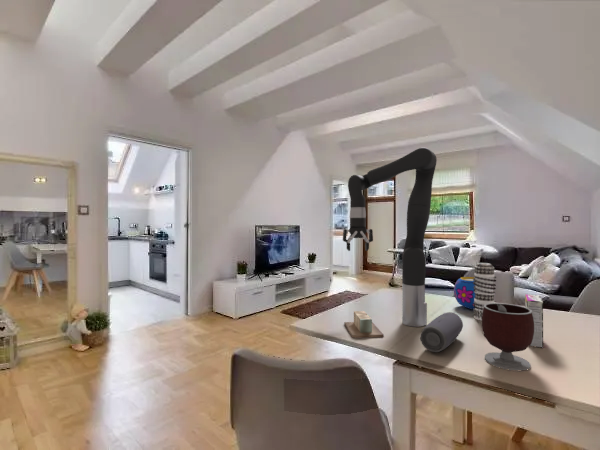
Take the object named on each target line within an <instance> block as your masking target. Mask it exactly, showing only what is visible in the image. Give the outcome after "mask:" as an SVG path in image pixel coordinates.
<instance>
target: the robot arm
mask: <svg viewBox="0 0 600 450" xmlns="http://www.w3.org/2000/svg"><path fill="white" fill-rule="evenodd" d="M437 160H438V159H437V155H436V154H435V152H433V151H432V150H431V149H429V148H427V147H419V148H417V149H414V150H413V151H411V152H409V153H407V154H406V155H404V156H402V157H400V158H398V159H395V160H394V161H392V162H389V163H387V164H383V165H382V166H378V167H375V168H373V169H371V170H369V171H367V173H366V174H362V175H359V174H353V175H351V176H349V178H348V180H347V188H348V194H349V197H350V198H349V199H350V201H349V203H350V208H349V229H346V228H343V230H342V242H345V243H346V250H347V251H348V252H350V251H351V241H352V240H353V239H363V240H364V242H365V243H364V244H365V245H364V249H365V251H368V250H369V249H370V243H371V242H374V234H373V233H374V232H373V229H371V228H369V229H367V228H366V225H367V223H366V222H367V220H366V219H367V218H366V216H367V212H366V211H367V210H366V197H365V196H364V194H363V191H364V190H366V189H369V188H372V187H373V186H374V185H378V184H381V183H383V182H386V181H388V180H391V179H393V178H395V177H396V176H398V175H399V174H402V173H404V172H409V171H412V170H413V171H414V170H415V180H414V185H413V187H412V190H411V192H410V195H409V198H408V202H407V210H406V237H405V243H404V247H403V251H402V254H401V257H402V274H401V275H402V277H401V278H402V280H401V281H402V287H401V288H402V290H401V291H402V292H401V293H402V295H401V297H402V300H401V301H402V304H401V306H402V308H401V309H402V310H401V311H402V312H401V313H402V314H401V315H402V317H401V319H402V321H401V322H402V325H405V326H408V327H419V328H420V327H425V326H427V325H428V303H427V302H426V273H427V272H426V264H427V262H426V261H427V260H426V259H427V258H426V254H425V252H424V251H425V250H424V245H425V243H424V242H425V234H426V231H427V227H428V224H429V218H430V214H431V205H432V191H433V188H432V187H433V179H434V175H435V170H436V168H437ZM347 234H350V235H349V236H348V238H347ZM366 234H368V237H367V235H366Z"/></svg>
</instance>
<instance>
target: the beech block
mask: <svg viewBox="0 0 600 450" xmlns="http://www.w3.org/2000/svg"><path fill="white" fill-rule="evenodd" d="M353 322H354V324H355V325H356V327H357V328H358V330H359V331H360V332H361V333H366V332H372V322H373V319H372V317H370V316H369V315H368V313H367V312H366V311H364V310H358V311H355V310H354V311H353Z"/></svg>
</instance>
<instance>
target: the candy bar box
mask: <svg viewBox="0 0 600 450" xmlns="http://www.w3.org/2000/svg"><path fill="white" fill-rule="evenodd" d="M524 301H525V303H524V307H526V308H528V309H530V310H532V315H533V319H534V336H533V340H532V343H531V345H530V346H529V347H532V346H536V347H535V348H539V347H542V348H541V349H544V301H543V298H542V296H541V295H537V294H526V293H525V296H524Z"/></svg>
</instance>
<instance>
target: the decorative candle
mask: <svg viewBox="0 0 600 450" xmlns="http://www.w3.org/2000/svg"><path fill="white" fill-rule="evenodd" d="M473 277H475V278H474V279H473V281H474V282H473V284H474V285H475V286H474V287H473V288H474V290H473V291H474V292H475V298H474V301H475V302H474V304H475V305H474V308H475V309H473V318H474V319H475V320H478V321H482V313H483V309H484V305H485V304H488V303H495V294H496V292H495V290H497V288H496V282H497V280H496V279H497V276H496V275H495V267H494V266H493V264H492V263H488V262H477V263H476V264H475V265H474V276H473Z"/></svg>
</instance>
